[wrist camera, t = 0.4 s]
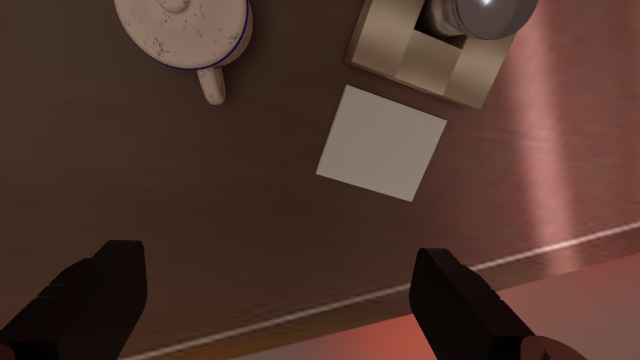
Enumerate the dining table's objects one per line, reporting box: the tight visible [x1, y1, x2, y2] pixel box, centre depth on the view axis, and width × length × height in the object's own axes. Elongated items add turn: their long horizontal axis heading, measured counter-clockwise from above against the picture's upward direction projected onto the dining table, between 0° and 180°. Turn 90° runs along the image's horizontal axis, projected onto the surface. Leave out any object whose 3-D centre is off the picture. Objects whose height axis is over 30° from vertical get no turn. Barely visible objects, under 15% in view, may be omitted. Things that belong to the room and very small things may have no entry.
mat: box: [315, 85, 447, 202], centre depth 37 cm, size 10×12×1 cm
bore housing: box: [344, 0, 517, 110], centre depth 32 cm, size 14×14×4 cm
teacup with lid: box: [114, 0, 253, 105], centre depth 27 cm, size 12×9×12 cm
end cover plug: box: [414, 0, 538, 41], centre depth 29 cm, size 6×6×11 cm
